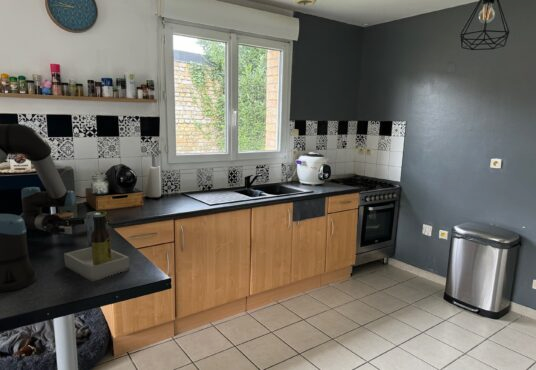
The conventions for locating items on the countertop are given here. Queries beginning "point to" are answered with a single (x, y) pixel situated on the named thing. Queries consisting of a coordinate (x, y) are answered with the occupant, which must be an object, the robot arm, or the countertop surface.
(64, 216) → the lidded jar
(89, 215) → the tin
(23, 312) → the countertop surface
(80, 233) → the countertop surface
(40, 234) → the countertop surface
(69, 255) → the tray
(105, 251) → the sauce bottle
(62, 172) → the device
